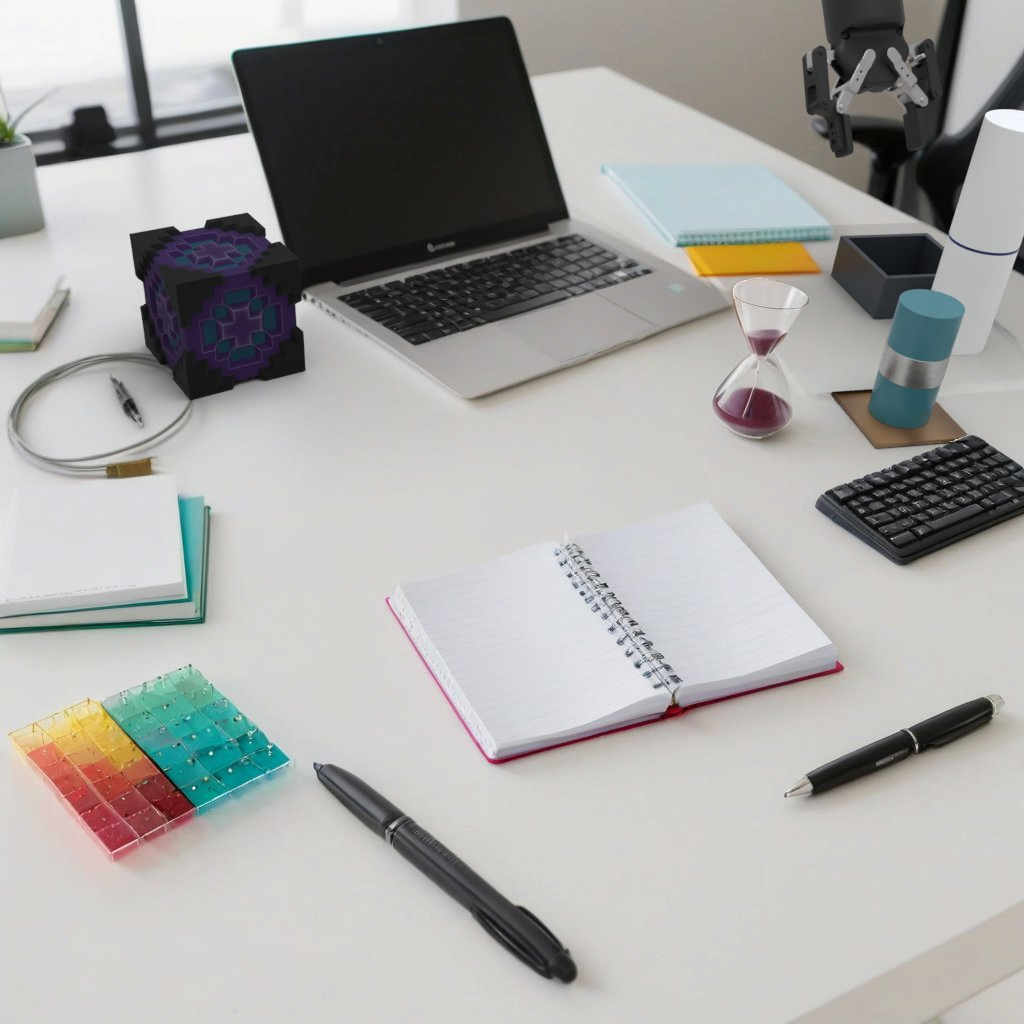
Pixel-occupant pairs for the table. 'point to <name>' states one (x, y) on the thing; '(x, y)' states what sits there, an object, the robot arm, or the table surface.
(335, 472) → the table surface
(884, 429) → the coaster
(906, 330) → the can
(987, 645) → the table surface
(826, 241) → the table surface
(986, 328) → the cylindrical container
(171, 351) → the energy cube
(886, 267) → the tub
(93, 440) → the table surface
